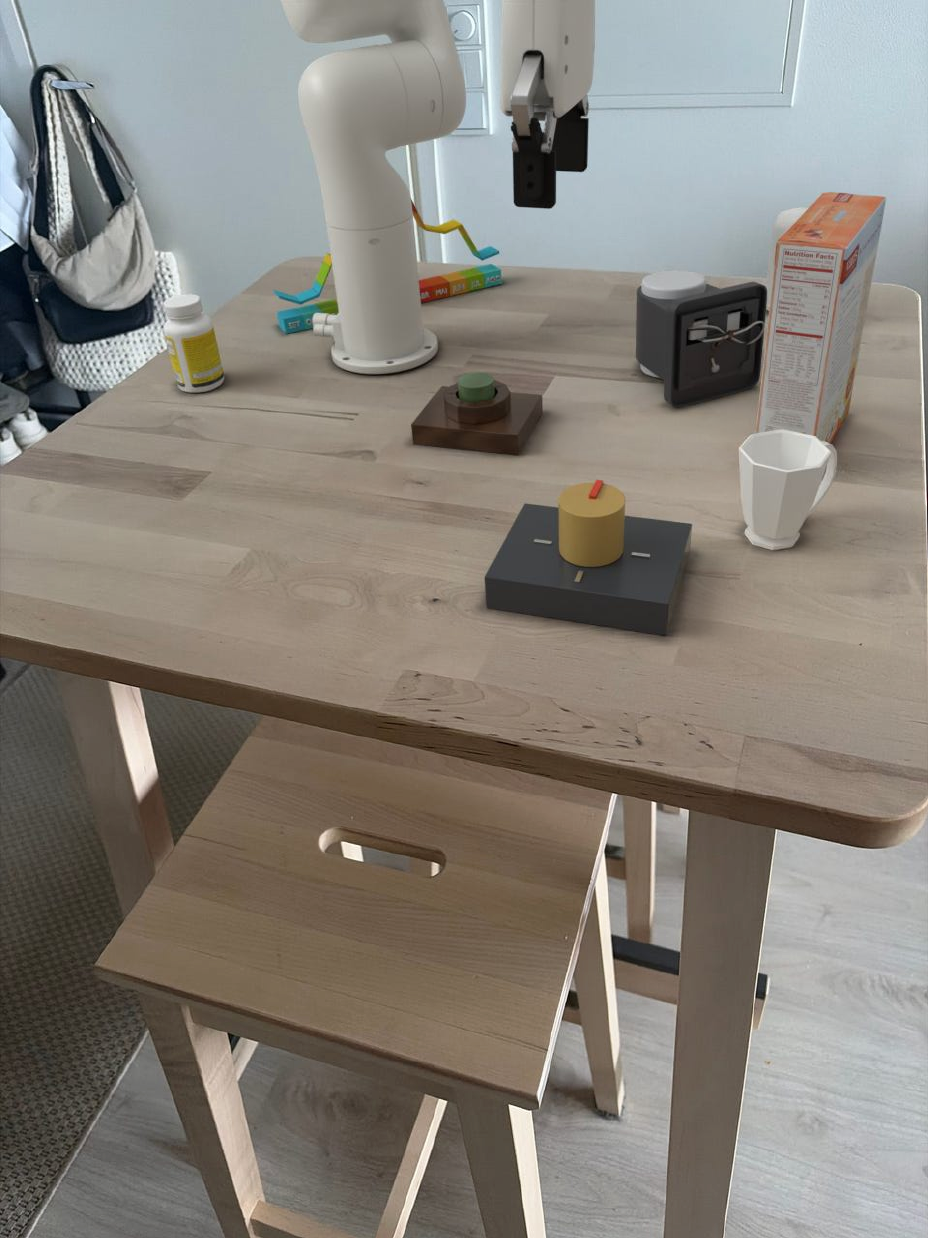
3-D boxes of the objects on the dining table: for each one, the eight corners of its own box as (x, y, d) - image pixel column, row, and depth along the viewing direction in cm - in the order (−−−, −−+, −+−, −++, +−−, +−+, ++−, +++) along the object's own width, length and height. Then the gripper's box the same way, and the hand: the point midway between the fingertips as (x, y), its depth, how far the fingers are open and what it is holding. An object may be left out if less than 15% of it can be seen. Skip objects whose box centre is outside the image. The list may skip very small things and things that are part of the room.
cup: (710, 532, 84) (719, 446, 79) (793, 493, 88) (806, 409, 83) (774, 569, 79) (788, 481, 74) (858, 526, 83) (876, 439, 78)
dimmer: (614, 571, 75) (616, 517, 72) (551, 561, 77) (550, 508, 74) (629, 536, 79) (632, 483, 76) (568, 527, 80) (568, 475, 77)
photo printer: (848, 326, 116) (867, 215, 108) (821, 335, 114) (840, 224, 107) (782, 301, 123) (796, 196, 115) (756, 310, 121) (769, 204, 114)
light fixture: (693, 352, 114) (697, 255, 108) (764, 389, 104) (773, 284, 98) (609, 372, 111) (609, 274, 105) (674, 412, 101) (678, 306, 95)
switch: (453, 402, 98) (452, 385, 97) (465, 386, 101) (464, 370, 100) (488, 405, 97) (487, 388, 96) (499, 389, 100) (498, 373, 99)
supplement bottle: (233, 376, 116) (215, 292, 110) (210, 396, 112) (190, 310, 106) (193, 372, 117) (173, 289, 111) (168, 391, 113) (146, 307, 107)
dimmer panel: (486, 608, 77) (483, 575, 76) (525, 532, 86) (524, 501, 84) (666, 636, 73) (668, 602, 71) (689, 554, 81) (692, 521, 80)
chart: (286, 334, 125) (264, 210, 116) (279, 326, 127) (256, 203, 118) (502, 284, 134) (497, 165, 125) (491, 277, 136) (486, 160, 127)
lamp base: (412, 444, 100) (408, 407, 97) (443, 404, 106) (440, 369, 104) (518, 455, 96) (516, 417, 94) (542, 414, 103) (542, 377, 101)
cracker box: (788, 405, 101) (821, 188, 88) (849, 415, 98) (892, 194, 86) (745, 467, 92) (774, 236, 79) (811, 481, 89) (852, 244, 76)
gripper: (536, -84, 76) (537, 156, 87) (460, -57, 63) (472, 219, 74) (633, -87, 74) (622, 159, 84) (574, -60, 61) (569, 225, 72)
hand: (552, 187), depth 79 cm, fingers open, 9 cm apart
